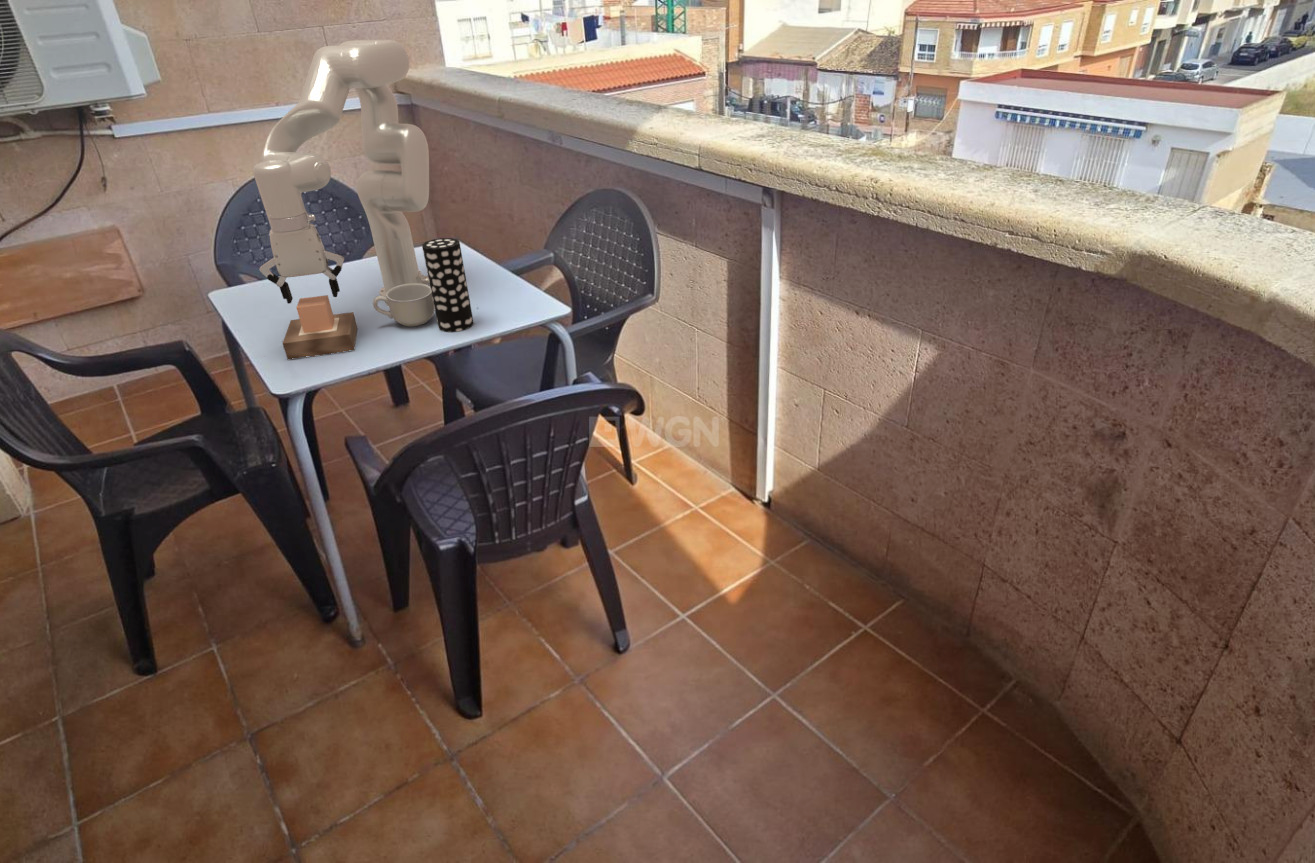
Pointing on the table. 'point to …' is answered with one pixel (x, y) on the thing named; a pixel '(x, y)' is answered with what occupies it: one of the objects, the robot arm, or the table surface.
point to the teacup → (408, 304)
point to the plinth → (321, 338)
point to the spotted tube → (448, 284)
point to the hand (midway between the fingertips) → (313, 298)
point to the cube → (315, 313)
